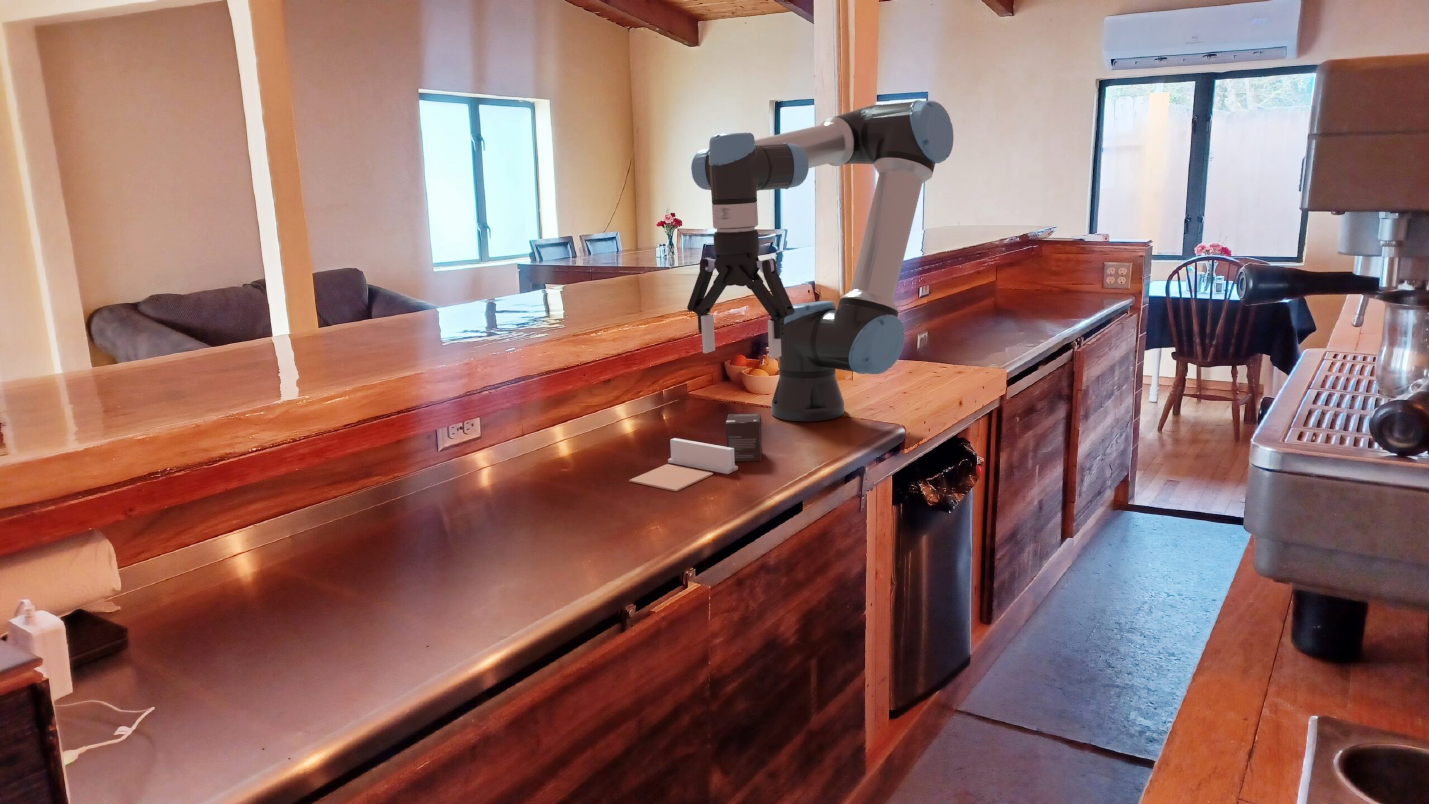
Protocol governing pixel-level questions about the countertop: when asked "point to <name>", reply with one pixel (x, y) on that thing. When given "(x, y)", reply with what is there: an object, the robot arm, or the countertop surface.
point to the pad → (671, 477)
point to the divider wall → (702, 456)
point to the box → (744, 436)
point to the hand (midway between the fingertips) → (741, 354)
